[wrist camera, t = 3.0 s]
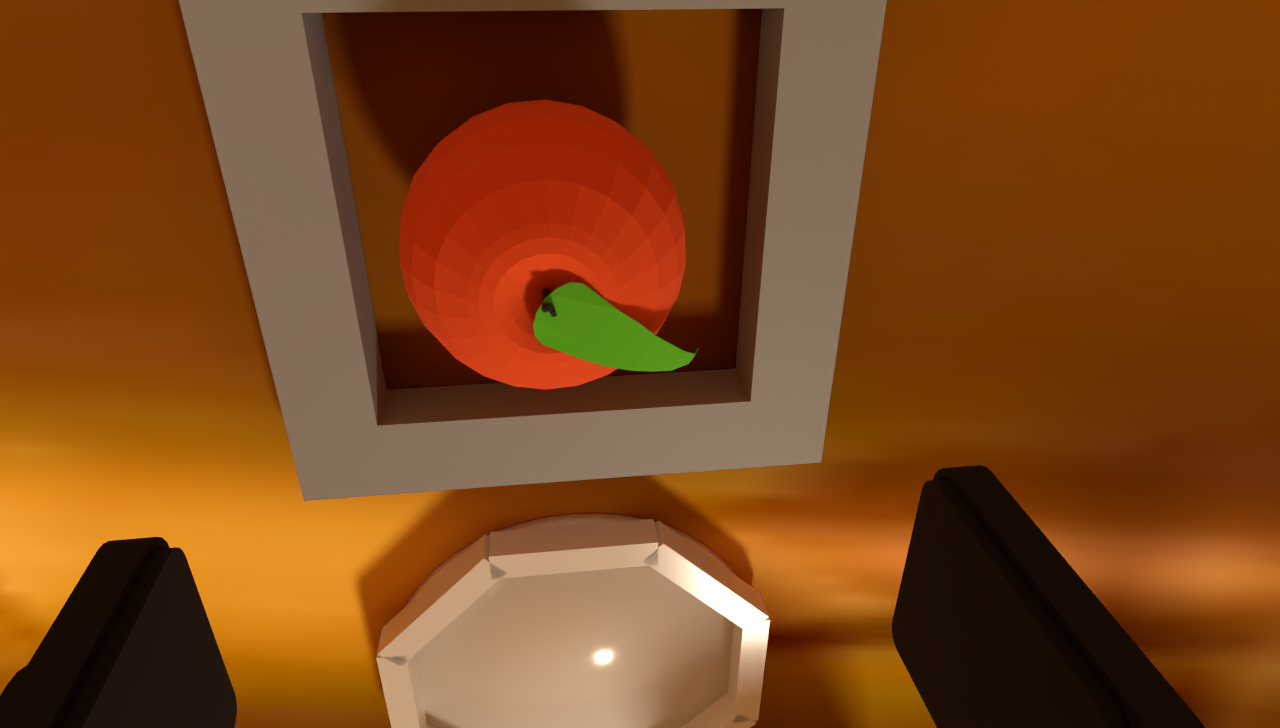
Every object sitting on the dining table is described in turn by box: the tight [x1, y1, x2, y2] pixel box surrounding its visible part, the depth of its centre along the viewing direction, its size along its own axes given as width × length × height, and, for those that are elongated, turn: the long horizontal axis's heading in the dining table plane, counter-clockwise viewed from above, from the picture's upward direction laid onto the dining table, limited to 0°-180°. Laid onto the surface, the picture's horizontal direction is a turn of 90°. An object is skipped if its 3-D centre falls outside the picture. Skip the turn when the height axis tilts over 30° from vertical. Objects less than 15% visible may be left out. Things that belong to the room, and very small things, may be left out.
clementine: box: [399, 99, 699, 390], centre depth 20 cm, size 8×7×7 cm
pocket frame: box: [179, 0, 887, 501], centre depth 22 cm, size 16×16×2 cm
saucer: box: [376, 513, 770, 728], centre depth 31 cm, size 14×14×2 cm
